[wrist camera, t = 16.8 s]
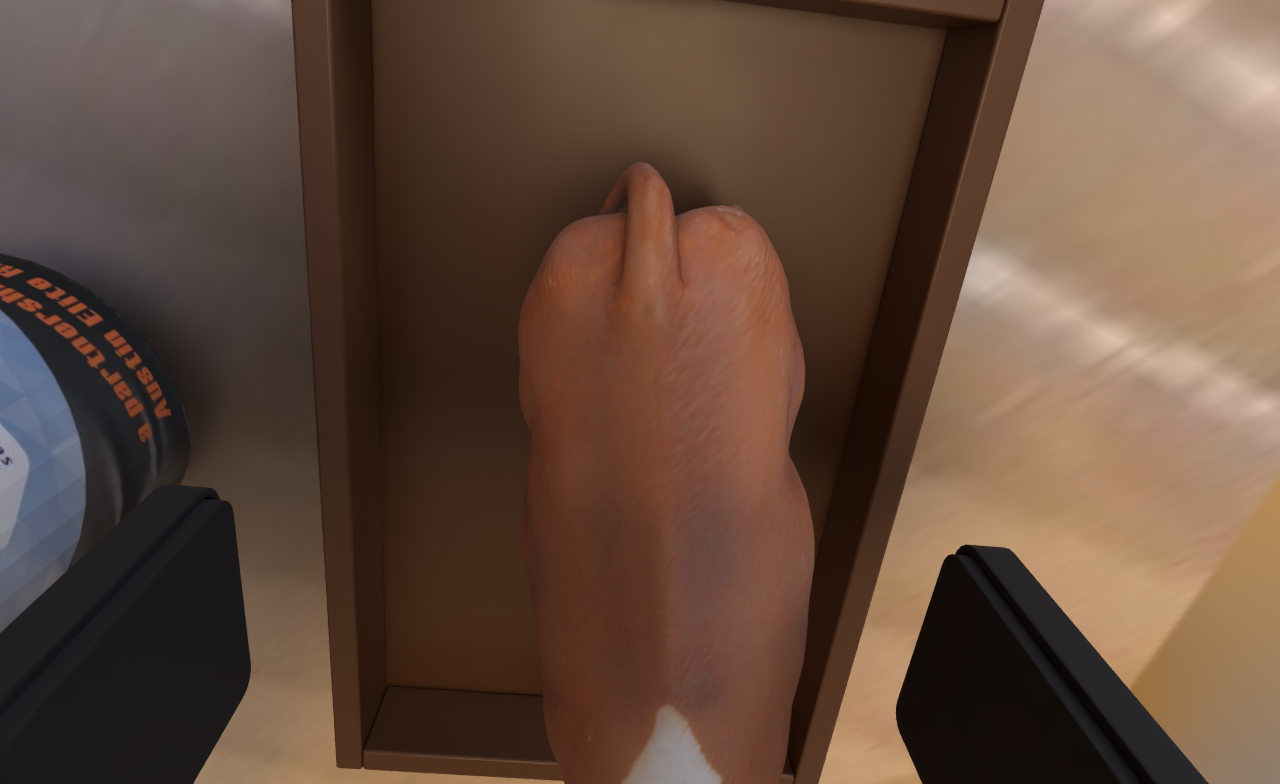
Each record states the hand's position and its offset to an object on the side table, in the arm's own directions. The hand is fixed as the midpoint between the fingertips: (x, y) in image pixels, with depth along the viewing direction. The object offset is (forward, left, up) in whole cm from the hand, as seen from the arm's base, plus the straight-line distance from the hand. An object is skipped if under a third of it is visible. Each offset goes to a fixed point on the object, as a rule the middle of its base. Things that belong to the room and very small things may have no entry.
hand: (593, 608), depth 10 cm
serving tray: (0, 0, -7) cm, 7 cm away
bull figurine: (+1, -2, -6) cm, 7 cm away
